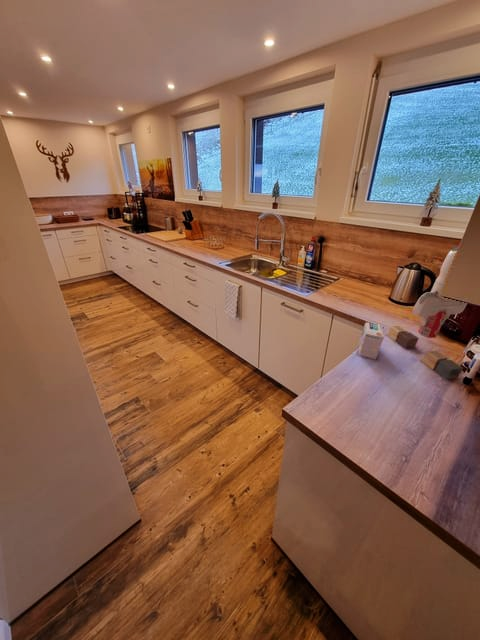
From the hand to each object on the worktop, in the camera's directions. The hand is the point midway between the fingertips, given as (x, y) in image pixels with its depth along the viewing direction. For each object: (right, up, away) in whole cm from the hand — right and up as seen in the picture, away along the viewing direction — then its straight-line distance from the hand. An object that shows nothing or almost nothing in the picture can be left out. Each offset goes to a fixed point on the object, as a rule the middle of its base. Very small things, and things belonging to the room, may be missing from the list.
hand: (431, 324), depth 102 cm
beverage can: (0, -5, +3) cm, 5 cm away
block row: (0, -13, +7) cm, 15 cm away
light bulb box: (-21, -12, +8) cm, 26 cm away
